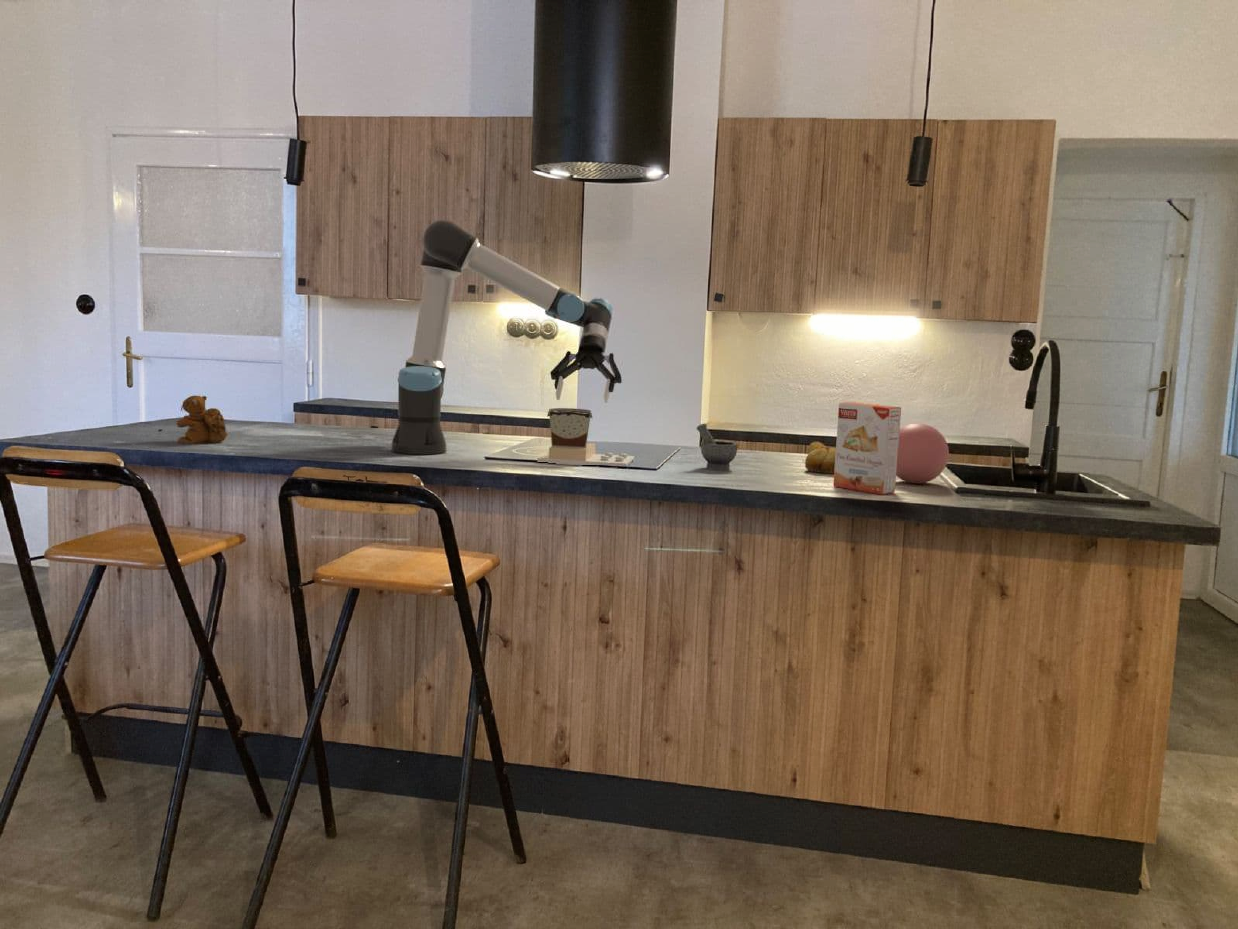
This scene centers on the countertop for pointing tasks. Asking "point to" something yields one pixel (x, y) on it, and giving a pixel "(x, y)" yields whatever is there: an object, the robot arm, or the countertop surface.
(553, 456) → the build plate
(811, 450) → the bread roll
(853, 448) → the cracker box
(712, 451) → the mortar and pestle
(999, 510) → the countertop surface
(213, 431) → the stuffed squirrel
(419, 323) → the robot arm
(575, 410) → the food container
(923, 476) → the balloon
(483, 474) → the countertop surface
